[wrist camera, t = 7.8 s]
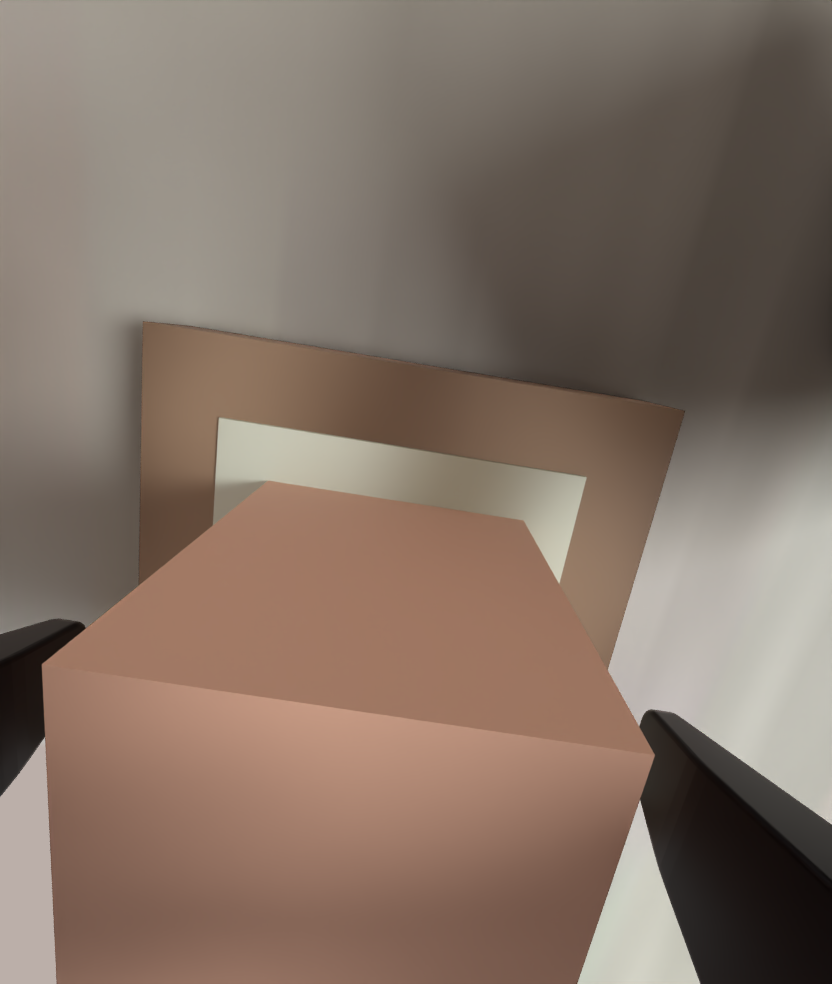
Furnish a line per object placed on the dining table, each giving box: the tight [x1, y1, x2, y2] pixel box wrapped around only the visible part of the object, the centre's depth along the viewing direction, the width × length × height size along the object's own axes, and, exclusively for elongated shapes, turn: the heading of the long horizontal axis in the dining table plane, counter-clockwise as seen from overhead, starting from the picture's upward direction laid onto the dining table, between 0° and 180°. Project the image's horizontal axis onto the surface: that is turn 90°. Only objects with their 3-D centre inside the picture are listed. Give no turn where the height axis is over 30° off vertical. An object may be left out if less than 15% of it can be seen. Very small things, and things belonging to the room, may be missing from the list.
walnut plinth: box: [139, 321, 685, 670], centre depth 12 cm, size 10×10×2 cm
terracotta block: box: [42, 481, 655, 984], centre depth 8 cm, size 5×5×6 cm
